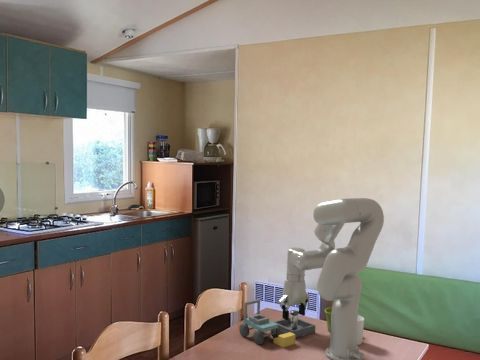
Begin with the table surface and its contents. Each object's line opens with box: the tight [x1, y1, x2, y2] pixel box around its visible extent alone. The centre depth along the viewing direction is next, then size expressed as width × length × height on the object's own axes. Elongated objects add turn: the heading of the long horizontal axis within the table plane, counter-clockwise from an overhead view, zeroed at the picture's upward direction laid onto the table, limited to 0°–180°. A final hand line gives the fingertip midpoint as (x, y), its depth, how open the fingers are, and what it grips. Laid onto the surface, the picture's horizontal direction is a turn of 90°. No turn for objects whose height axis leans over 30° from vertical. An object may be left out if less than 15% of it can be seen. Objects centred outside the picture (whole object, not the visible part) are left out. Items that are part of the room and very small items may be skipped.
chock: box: [273, 332, 296, 348], centre depth 177 cm, size 6×6×4 cm
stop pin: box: [289, 309, 300, 330], centre depth 191 cm, size 4×4×8 cm
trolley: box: [238, 299, 282, 346], centre depth 182 cm, size 14×10×14 cm
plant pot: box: [324, 307, 332, 333], centre depth 192 cm, size 9×9×9 cm
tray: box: [272, 316, 316, 339], centre depth 191 cm, size 13×13×3 cm
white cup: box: [356, 314, 365, 346], centre depth 181 cm, size 8×8×10 cm
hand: (293, 317), depth 191 cm, fingers open, 9 cm apart
